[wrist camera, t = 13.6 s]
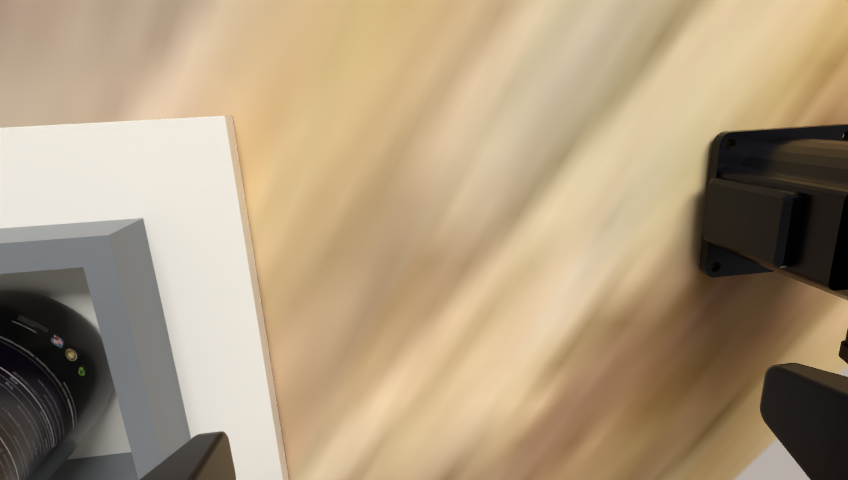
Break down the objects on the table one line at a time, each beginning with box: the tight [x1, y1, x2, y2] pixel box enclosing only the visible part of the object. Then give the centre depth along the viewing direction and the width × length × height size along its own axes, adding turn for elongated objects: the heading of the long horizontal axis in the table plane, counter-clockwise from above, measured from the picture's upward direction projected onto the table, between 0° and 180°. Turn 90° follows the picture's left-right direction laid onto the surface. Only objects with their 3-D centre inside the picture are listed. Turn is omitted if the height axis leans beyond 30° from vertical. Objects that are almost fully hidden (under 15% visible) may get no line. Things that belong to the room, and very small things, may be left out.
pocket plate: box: [0, 115, 289, 480], centre depth 18 cm, size 18×18×4 cm
